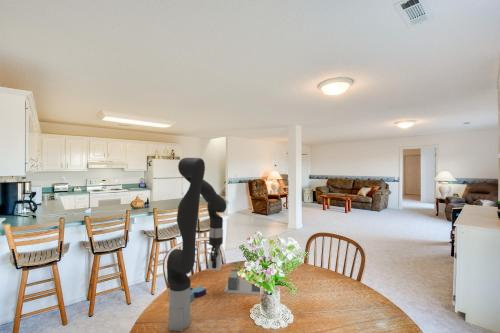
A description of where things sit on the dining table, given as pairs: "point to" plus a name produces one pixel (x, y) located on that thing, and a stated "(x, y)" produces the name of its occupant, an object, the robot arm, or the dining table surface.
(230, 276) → the rail board
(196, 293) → the pistol
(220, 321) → the dining table surface
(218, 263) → the module
